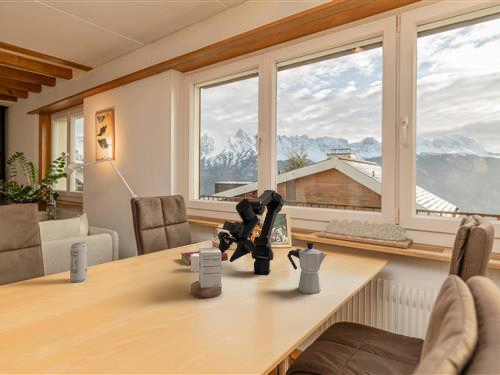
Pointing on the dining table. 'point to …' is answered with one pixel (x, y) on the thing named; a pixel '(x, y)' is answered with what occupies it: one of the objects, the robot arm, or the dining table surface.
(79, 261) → the energy drink can
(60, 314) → the dining table surface
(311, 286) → the coffee maker
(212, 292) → the walnut pedestal
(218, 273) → the supplement box
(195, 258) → the shot glass
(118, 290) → the dining table surface
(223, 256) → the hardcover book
